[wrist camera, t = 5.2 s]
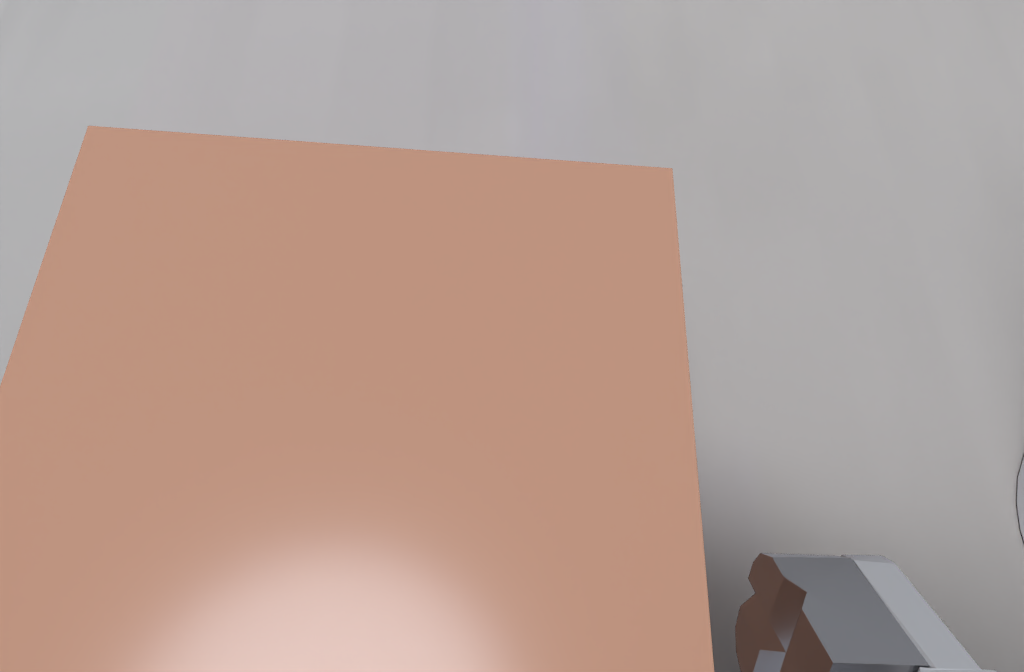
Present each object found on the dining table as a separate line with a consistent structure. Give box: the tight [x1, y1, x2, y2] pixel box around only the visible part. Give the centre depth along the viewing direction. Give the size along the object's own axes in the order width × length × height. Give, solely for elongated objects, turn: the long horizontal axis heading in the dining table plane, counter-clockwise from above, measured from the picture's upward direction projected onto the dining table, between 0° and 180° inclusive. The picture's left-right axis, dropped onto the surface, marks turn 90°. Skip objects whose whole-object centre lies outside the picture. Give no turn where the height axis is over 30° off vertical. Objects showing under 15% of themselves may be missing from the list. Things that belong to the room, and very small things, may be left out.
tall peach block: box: [0, 126, 714, 672], centre depth 10 cm, size 6×6×10 cm
